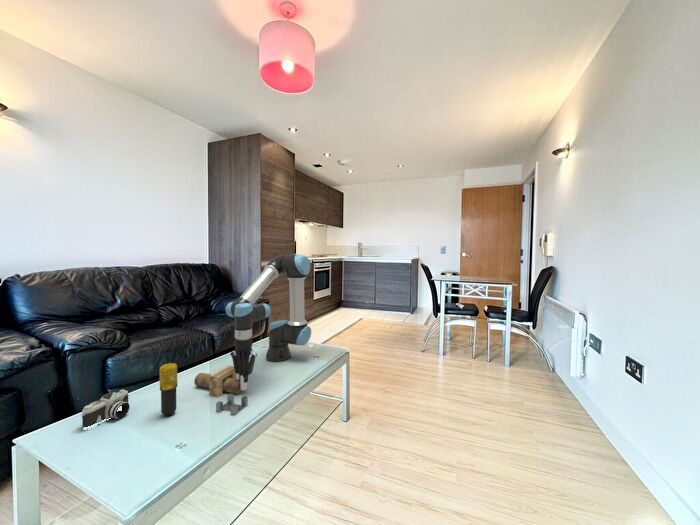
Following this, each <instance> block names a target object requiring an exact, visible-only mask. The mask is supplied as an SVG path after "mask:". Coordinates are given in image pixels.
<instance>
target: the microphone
mask: <svg viewBox="0 0 700 525" xmlns="http://www.w3.org/2000/svg"><path fill="white" fill-rule="evenodd" d="M177 388H178V365H177V364H176V363H173V362H171V363H165V364H163V365H161V366H160V367H159V391H160V411H161V412H160V413H161V414H162V415H163V416H164V417H166V418H168V417H171V416H173V415H174V414H175V412H176V410H177V407H178V406H177Z"/></svg>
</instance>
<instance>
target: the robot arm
mask: <svg viewBox="0 0 700 525" xmlns="http://www.w3.org/2000/svg"><path fill="white" fill-rule="evenodd" d="M310 272H311V263H310V260H309V258H308V256H306V255H304V254H280V255H278V256H276V257H274V258H272V259H271V260H270V261H269V262H268V263H267V264H266V265H265V266H264V267H263V270H262V272H261V273H260V274H259V275H258V276H257V277H256V278H255V279H254V280H253V282H252V283H251V284H250V285H249V287H247V288H246V290H245V291H244V292H243V293H242V294H241V296H240V297H238V299H237V300H236V301H230V302H229V303H227V305H226V307H225V313H226V315H227V316H228V317H230V318H234V347H235V349H234V350H233V351H231V352H230V356H231V358H232V363H233V364H232V365H233V367H234V369H235V373H236V374H237V375H238V376H239V378H238V379H239V381H240V382H241V390H243V391H245V390H246V389H247V388H248V382H249V376H250V375H251V374H252V373H253V370H254V367H255V361H256V358H257V356H258V354H257V353H255V352H254V350H253V348H252V347H253V323H255V322H259V321H261V320H265V319H267V318H268V317H270V315H271V307H270V306H269V304H268V303H264V302H263V303H259V304H255V302H256V301H257V300H258V299H259V298H260V296H261V295H262V294H263V293H264V291H265V290H266V289H267V288H268V287H269V285H270V284H271V283H272V282H273V280H275V279H277V278H278V277H279V276H280V275H286V278H287V280H288V281H289V286H288V287H289V320H287V319H283V320H281V319H280V320H275V321H272V322H270V323H269V326H268V349H267V351H266V354H265V360H266V361H267V362H270V363H283V362H287V361H289V360H291V358H292V353H291V350H290V347H289V345H294V346H296V347H297V346H306V344H308V343H309V341H310V339H311V337H312V328H311V326H310V325H308V321H307V320H306V319H305V280H306V279H307V276H308V275H309V273H310ZM288 359H289V360H288ZM286 360H287V361H286Z"/></svg>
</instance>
